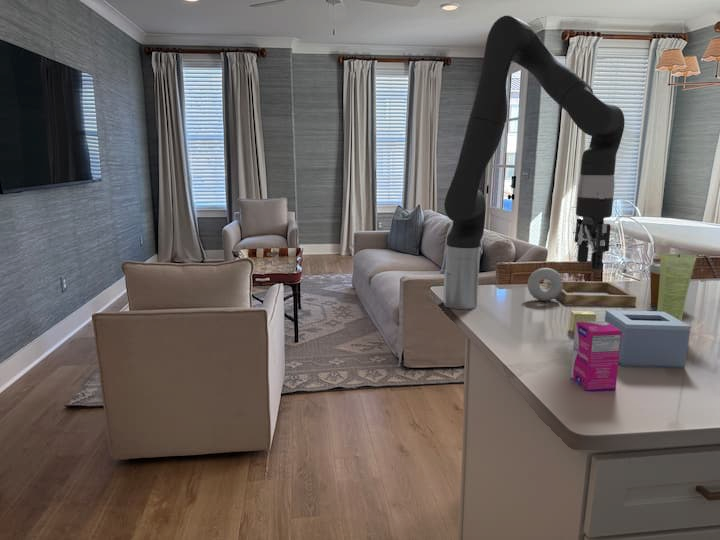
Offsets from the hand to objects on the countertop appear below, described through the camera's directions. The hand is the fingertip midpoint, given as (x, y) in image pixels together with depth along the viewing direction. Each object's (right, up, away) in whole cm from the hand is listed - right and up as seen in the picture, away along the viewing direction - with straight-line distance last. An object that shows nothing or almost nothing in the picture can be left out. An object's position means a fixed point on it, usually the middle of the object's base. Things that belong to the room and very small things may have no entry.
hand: (588, 265), depth 119 cm
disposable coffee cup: (+33, -12, +27) cm, 44 cm away
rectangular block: (0, -16, +3) cm, 16 cm away
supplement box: (-11, -22, -26) cm, 36 cm away
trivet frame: (+16, -9, +36) cm, 40 cm away
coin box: (+5, -20, -14) cm, 24 cm away
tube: (+20, -17, +2) cm, 26 cm away
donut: (+1, -10, +32) cm, 33 cm away
